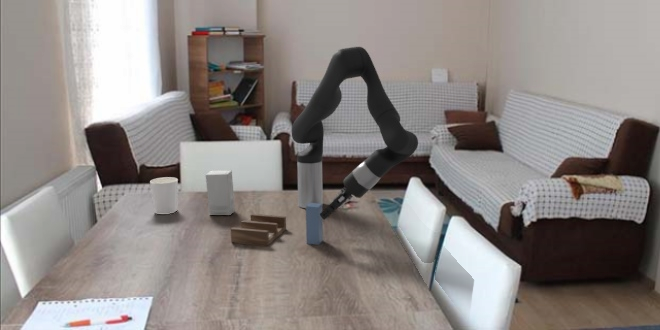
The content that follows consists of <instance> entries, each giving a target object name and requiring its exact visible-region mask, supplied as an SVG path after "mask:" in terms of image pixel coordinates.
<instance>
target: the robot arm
mask: <svg viewBox="0 0 660 330" xmlns="http://www.w3.org/2000/svg"><path fill="white" fill-rule="evenodd" d="M359 77H360V78H361V79H362V80H363V81H364V82H365V84H366V89H367V95H366V96H367V97H366V105H367V109H368V112H369V114H370V115H371V117H372V119H373V120H374V122H375V124H376V125H377V127H378V128H379V132H380V134H381V137H382V140H383V141H384V144H385V146H386V147H385V148H379V149H376V150H374V151H373V152H372V153H371V154H370V155H369V156H368V157H367V158H365V159H364V160H363V161H362V162H361V163H359V164H358V165H357V166H356V167H355V168H354V169H353V170H351V172H350V173H349V174H348V175H347V176H346V177H345V178H344V179H343V180H342V182H343V186H344V187H342V189H340V191H338V193H337V194H336V195H335V196H334V197H333V198H332V199H331V202H330V203H329V204H327V206H326V208H324V210H322V212H321V213H320V216H321V217H322V218H323V220H326V219H327V218H328V217H330V215H331V214H334V213H335V212H336V210H338V209H341V208H342V207H343V206H344V205H346V203H348V202H350V200H351V199H352V198H353V196H354V197H356V198H357V199H359V198H362V197H363V196H364V195H365V194H367V193H368V192H369V191H370V190H371V189H372V188H374V186H375V185H376V184H377V183H378V182H379V181H380V179H382V178H383V177H384V176H385V175H386V174H387V173H388V172H389V171H390V170H391V169H393V168H394V167H396V166H397V165H399V164H401V163H403V161H405V160H407V159H408V158H410V157H411V156H412V155H413V154H414V153H415V152H416V150H417V148H418V146H419V139H418V137H417V135H416V134H415V133H413V131H409V130H407V129H405V128H404V127H403V124H401V116H400V114H399V112H398V111H397V109H396V107H395V106H394V104H393V103H392V101H391V99H390V98H389V96H388V95H387V92H386V91H385V89H384V86H383V84H382V81H381V78H380V77H379V74H378V71H377V69H376V67H375V65H374V62H373V59H372V58H371V56H370V54H369V52H368V51H367V50H366V48H364V47H362V46H352V47H345V48H341V49H337V50H336V51H335V52H334V54H333V55H332V57H331V59H330V61H329V63H328V66H327V68H326V71H325V73H324V75H323V77H322V79H321V81H320V82H319V85H318V86H317V87H316V89H315V91H314V93H313V94H312V96H311V98H310V99H309V101H308V102H307V105H306V106H305V108H304V109H303V110H302V112H301V113H300V114H299V115H298V116H297V117H296V119H295V120H294V122H293V124H292V127H291V137H292V140H293V141H294V142H295V143H297V144H301V145H302V144H303V145H304V144H308V146H307V147H306V148H305V149H304V150H301V151H299V152H298V153H297V156H296V157H297V158H296V160H297V161H296V162H297V163H296V165H297V202H298V203H297V205H298V206H297V207H298V208H303V209H306V206H307V205H308V204H309V203H319V204H322V206H323V204H324V203H323V199H324V197H323V155H324V154H323V153H324V132H325V131H324V123H323V122H322V121H324V120H325V119H327V118H329V117H330V116H332V114H333V113H335V111H336V110H337V108H338V107H339V105H340V104H341V101H342V97H343V96H342V95H343V94H342V91H341V87H340V85H342V83H344V81H346V80H348V79H354V78H359Z"/></svg>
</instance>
